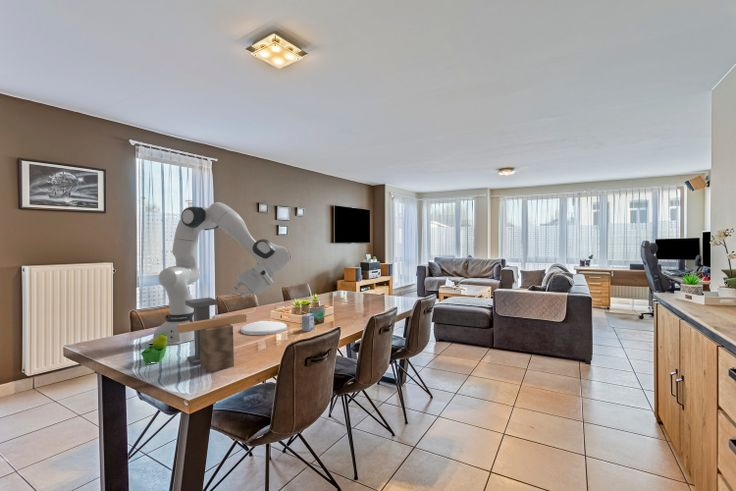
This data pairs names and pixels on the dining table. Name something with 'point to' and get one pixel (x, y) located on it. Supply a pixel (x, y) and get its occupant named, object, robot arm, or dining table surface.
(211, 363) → the pedestal
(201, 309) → the stand
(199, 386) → the dining table surface
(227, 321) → the bar
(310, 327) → the medicine box
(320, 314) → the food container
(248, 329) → the decorative plate
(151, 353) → the fruit basket
